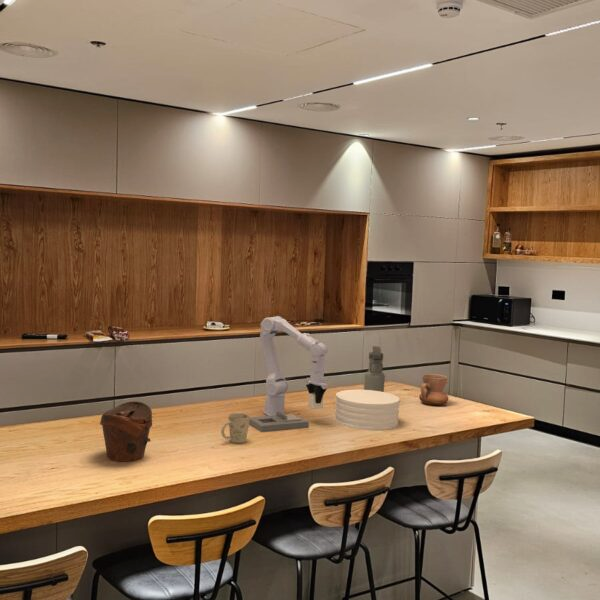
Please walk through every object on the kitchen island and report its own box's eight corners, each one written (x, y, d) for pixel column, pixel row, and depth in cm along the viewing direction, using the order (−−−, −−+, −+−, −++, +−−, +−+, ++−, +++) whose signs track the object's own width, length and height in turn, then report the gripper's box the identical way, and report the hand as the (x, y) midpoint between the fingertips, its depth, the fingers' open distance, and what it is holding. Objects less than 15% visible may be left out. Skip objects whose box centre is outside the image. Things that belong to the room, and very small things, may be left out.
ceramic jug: (434, 399, 366) (435, 372, 365) (455, 404, 354) (457, 376, 353) (409, 402, 355) (410, 375, 354) (430, 409, 344) (432, 380, 342)
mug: (253, 441, 273) (254, 416, 272) (228, 447, 264) (230, 421, 263) (238, 436, 278) (240, 411, 278) (214, 442, 269) (215, 416, 268)
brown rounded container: (102, 467, 234) (105, 414, 233) (94, 449, 252) (97, 400, 251) (156, 463, 241) (159, 412, 240) (144, 447, 259) (147, 399, 258)
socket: (247, 423, 299) (247, 417, 298) (292, 419, 309) (293, 413, 309) (261, 432, 287) (261, 426, 286) (308, 427, 297) (308, 421, 297)
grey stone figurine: (384, 406, 343) (387, 349, 340) (363, 405, 343) (367, 348, 340) (381, 401, 353) (385, 346, 351) (362, 400, 353) (365, 345, 351)
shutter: (275, 416, 302) (276, 411, 301) (292, 415, 305) (292, 410, 305) (284, 421, 295) (284, 416, 294) (301, 420, 299) (301, 415, 298)
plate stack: (360, 433, 293) (361, 406, 292) (322, 417, 317) (323, 392, 316) (411, 426, 308) (412, 400, 307) (371, 411, 332) (372, 387, 331)
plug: (308, 406, 305) (309, 389, 305) (317, 406, 308) (318, 389, 307) (312, 409, 302) (313, 391, 301) (322, 408, 305) (323, 391, 304)
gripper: (300, 368, 308) (299, 398, 309) (318, 374, 295) (316, 406, 296) (314, 367, 311) (312, 397, 312) (332, 373, 299) (330, 405, 300)
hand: (315, 401), depth 305 cm, fingers closed on plug, 4 cm apart
